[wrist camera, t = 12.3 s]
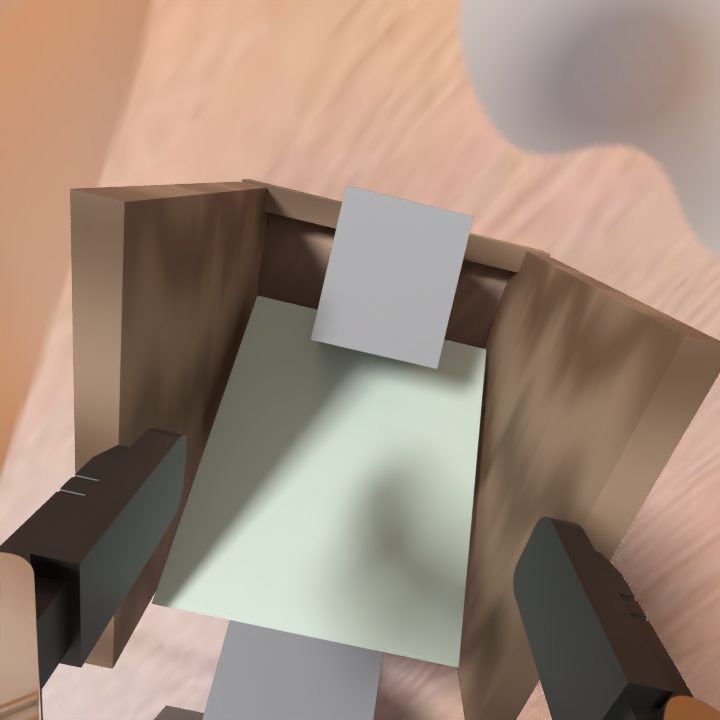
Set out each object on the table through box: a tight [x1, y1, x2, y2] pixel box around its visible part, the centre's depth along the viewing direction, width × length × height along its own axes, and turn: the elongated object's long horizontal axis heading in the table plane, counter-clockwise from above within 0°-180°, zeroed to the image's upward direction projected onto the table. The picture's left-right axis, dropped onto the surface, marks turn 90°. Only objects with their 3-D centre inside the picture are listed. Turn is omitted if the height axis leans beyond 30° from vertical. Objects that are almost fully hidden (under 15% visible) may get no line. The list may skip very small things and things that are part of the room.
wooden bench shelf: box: [70, 179, 720, 720], centre depth 20 cm, size 16×15×14 cm
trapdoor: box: [152, 296, 486, 720], centre depth 20 cm, size 22×12×4 cm
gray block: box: [311, 185, 473, 369], centre depth 20 cm, size 5×5×6 cm
